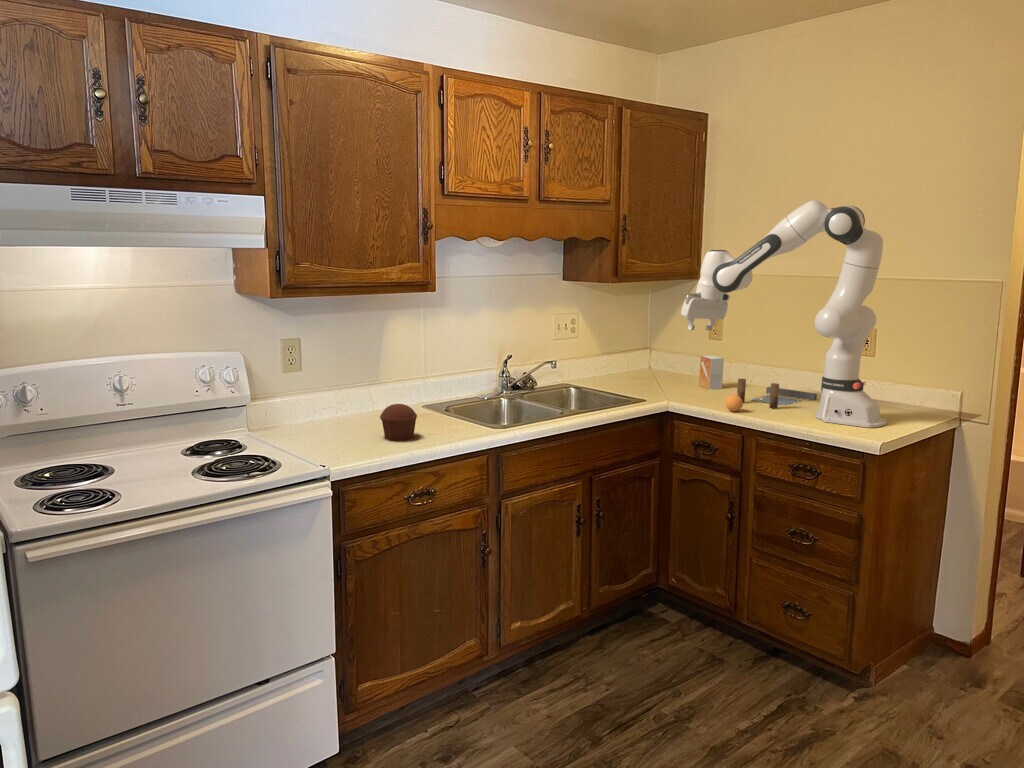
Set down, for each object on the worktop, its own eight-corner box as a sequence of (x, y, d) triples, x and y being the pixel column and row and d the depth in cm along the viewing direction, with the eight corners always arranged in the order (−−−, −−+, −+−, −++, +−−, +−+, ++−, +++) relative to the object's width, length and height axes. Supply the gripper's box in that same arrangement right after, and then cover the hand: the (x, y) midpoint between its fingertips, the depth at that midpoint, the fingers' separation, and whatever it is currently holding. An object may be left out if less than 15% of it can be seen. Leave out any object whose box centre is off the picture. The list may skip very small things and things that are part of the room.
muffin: (423, 439, 235) (423, 406, 233) (388, 443, 229) (388, 410, 227) (408, 431, 245) (407, 399, 243) (374, 435, 239) (374, 403, 237)
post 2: (778, 408, 283) (780, 384, 282) (775, 409, 281) (776, 384, 280) (771, 407, 285) (773, 383, 284) (767, 408, 283) (769, 383, 282)
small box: (698, 386, 327) (700, 355, 324) (712, 385, 329) (713, 355, 326) (709, 389, 319) (710, 358, 317) (722, 389, 321) (724, 357, 319)
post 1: (745, 402, 293) (747, 379, 291) (741, 403, 291) (743, 380, 289) (739, 401, 295) (740, 378, 293) (735, 402, 293) (736, 379, 291)
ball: (745, 411, 277) (746, 395, 276) (736, 413, 273) (737, 397, 272) (730, 408, 281) (731, 392, 280) (721, 411, 277) (722, 394, 276)
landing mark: (801, 400, 297) (801, 400, 297) (783, 405, 288) (783, 405, 288) (768, 395, 307) (768, 395, 307) (749, 400, 298) (749, 399, 298)
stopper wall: (816, 400, 299) (817, 393, 299) (814, 400, 298) (814, 394, 297) (768, 392, 313) (769, 386, 313) (766, 393, 312) (766, 387, 312)
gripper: (694, 294, 275) (685, 331, 279) (733, 296, 286) (724, 332, 290) (681, 290, 280) (673, 327, 284) (720, 292, 291) (712, 328, 295)
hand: (699, 330), depth 287 cm, fingers open, 8 cm apart
